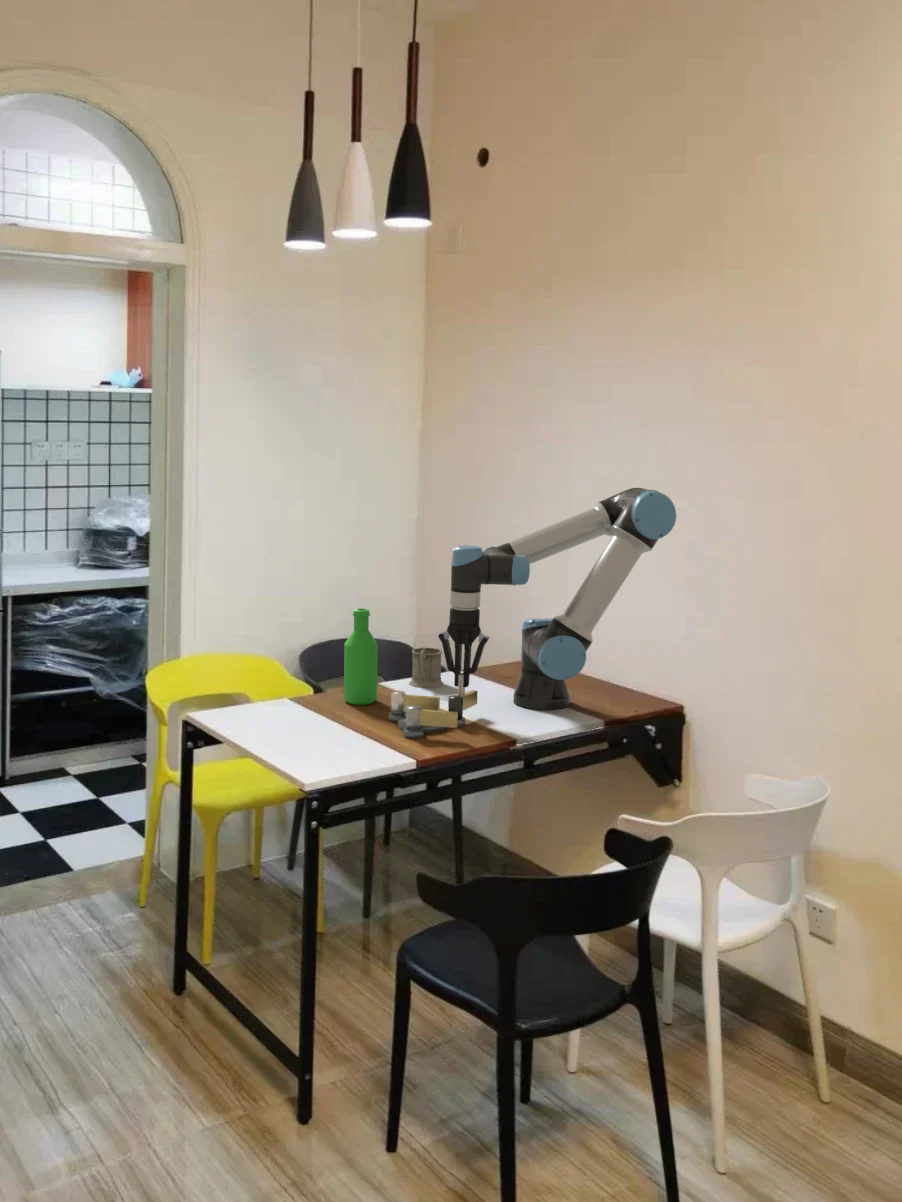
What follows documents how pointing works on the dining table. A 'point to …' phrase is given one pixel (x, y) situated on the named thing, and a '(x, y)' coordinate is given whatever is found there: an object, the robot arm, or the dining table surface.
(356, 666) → the bottle
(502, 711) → the dining table surface
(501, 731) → the dining table surface
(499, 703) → the dining table surface
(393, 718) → the tribrach plate
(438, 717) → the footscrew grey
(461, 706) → the black and tan lever
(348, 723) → the dining table surface
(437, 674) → the mug
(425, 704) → the lever
